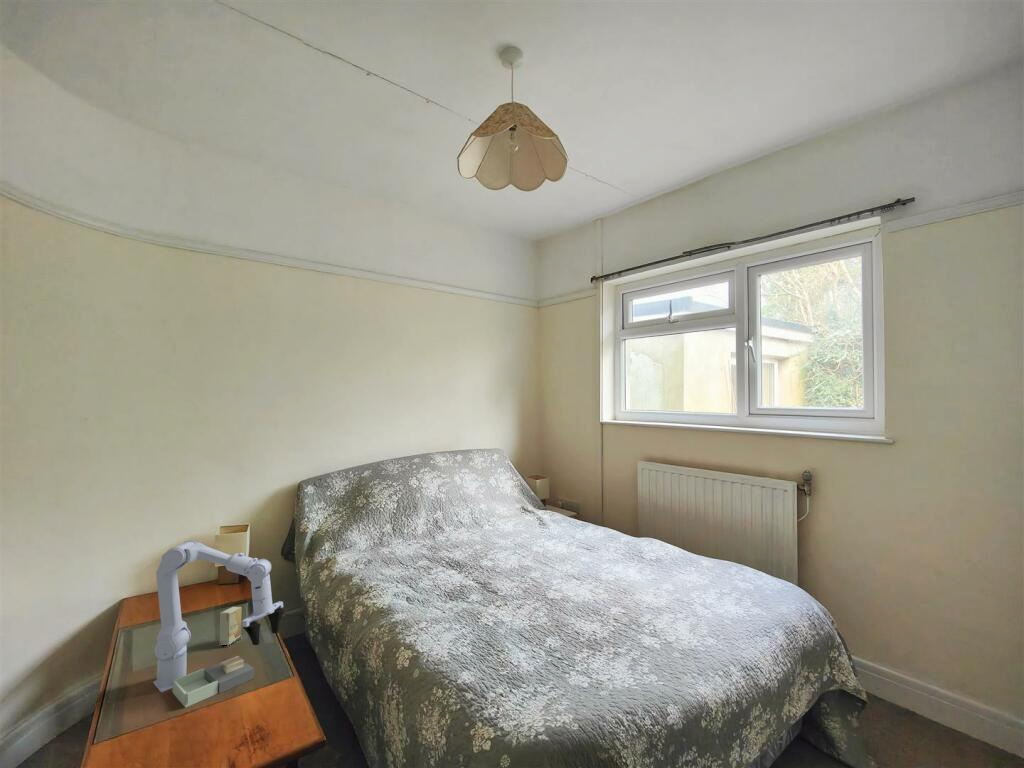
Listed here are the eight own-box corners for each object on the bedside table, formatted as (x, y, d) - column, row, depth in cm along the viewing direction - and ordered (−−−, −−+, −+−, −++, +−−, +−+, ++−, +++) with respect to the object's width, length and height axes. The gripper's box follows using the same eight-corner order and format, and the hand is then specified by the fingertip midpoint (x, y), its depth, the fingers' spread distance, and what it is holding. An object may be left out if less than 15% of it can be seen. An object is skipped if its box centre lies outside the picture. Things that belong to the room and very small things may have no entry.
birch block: (221, 668, 148) (221, 662, 148) (237, 661, 152) (237, 655, 152) (226, 673, 145) (226, 666, 145) (243, 666, 149) (243, 660, 149)
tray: (172, 692, 141) (172, 680, 141) (203, 679, 147) (203, 668, 148) (185, 707, 133) (185, 694, 133) (217, 693, 139) (217, 681, 139)
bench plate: (204, 678, 148) (204, 669, 148) (237, 665, 156) (237, 656, 156) (219, 693, 139) (219, 683, 139) (254, 678, 147) (254, 668, 147)
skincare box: (228, 647, 169) (228, 613, 170) (219, 646, 170) (219, 613, 171) (242, 638, 175) (242, 606, 176) (232, 638, 176) (232, 606, 177)
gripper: (252, 607, 145) (255, 650, 144) (288, 588, 158) (292, 628, 157) (236, 606, 147) (239, 649, 146) (273, 588, 161) (276, 627, 160)
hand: (265, 638), depth 152 cm, fingers open, 7 cm apart
